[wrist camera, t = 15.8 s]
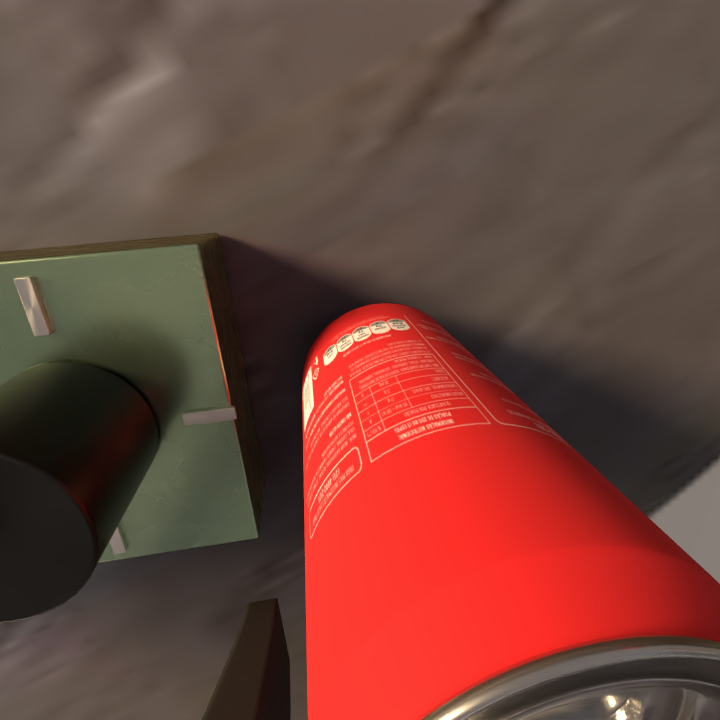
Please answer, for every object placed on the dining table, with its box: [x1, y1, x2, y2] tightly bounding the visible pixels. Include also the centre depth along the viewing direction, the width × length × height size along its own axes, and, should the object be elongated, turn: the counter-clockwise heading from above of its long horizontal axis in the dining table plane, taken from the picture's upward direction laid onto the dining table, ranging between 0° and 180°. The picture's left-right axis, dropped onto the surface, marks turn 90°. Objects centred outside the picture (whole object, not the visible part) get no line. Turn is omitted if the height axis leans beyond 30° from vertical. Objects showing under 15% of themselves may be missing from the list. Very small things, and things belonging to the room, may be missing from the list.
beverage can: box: [302, 303, 720, 720], centre depth 10 cm, size 5×5×12 cm
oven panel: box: [0, 233, 265, 563], centre depth 13 cm, size 10×9×3 cm
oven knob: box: [0, 362, 158, 623], centre depth 10 cm, size 4×4×4 cm
